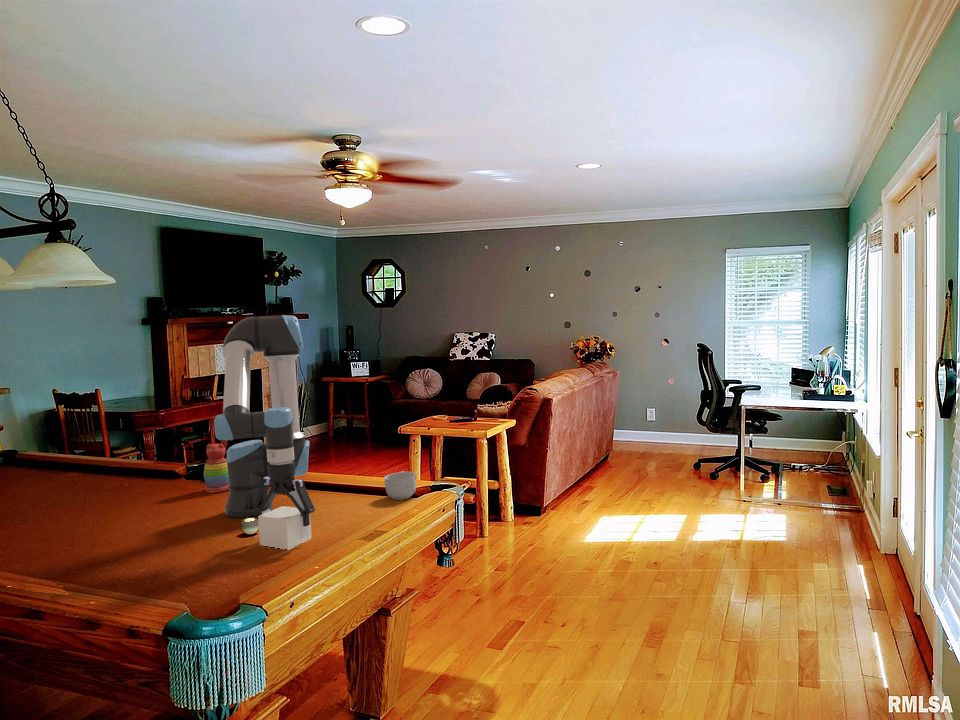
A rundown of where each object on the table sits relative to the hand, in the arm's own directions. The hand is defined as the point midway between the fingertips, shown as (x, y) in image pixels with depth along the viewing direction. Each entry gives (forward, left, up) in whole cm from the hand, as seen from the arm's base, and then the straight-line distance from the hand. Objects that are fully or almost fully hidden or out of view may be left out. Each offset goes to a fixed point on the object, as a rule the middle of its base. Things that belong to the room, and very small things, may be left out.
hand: (286, 534), depth 212 cm
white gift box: (0, 0, -2) cm, 2 cm away
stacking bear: (-67, +40, -2) cm, 78 cm away
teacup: (+6, +53, -2) cm, 53 cm away
